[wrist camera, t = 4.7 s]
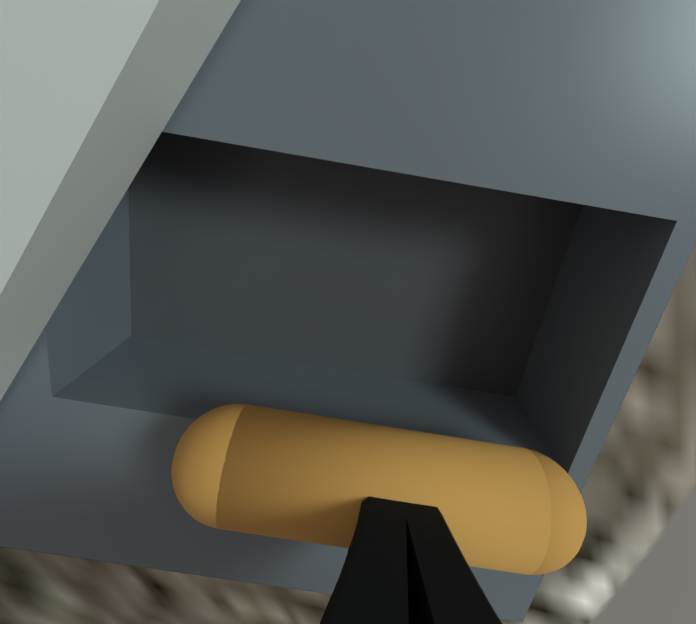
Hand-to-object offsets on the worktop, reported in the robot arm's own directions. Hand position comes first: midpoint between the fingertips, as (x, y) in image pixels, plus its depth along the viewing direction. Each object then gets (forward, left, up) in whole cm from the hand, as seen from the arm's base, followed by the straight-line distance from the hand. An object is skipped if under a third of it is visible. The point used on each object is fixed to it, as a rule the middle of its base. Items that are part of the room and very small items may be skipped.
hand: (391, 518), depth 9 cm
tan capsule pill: (0, 0, +1) cm, 1 cm away
